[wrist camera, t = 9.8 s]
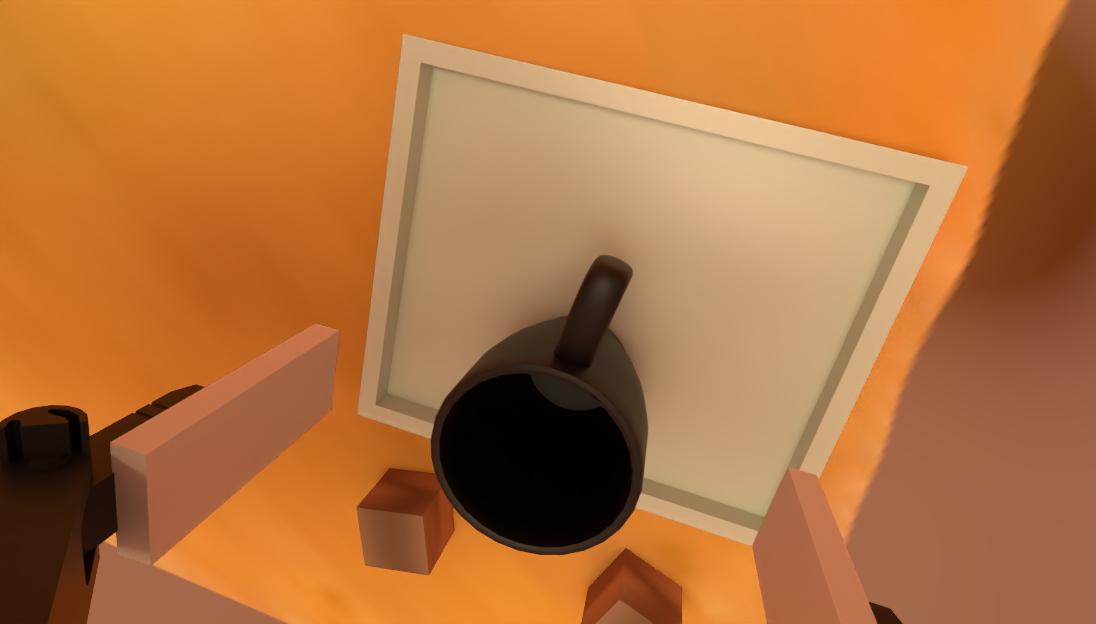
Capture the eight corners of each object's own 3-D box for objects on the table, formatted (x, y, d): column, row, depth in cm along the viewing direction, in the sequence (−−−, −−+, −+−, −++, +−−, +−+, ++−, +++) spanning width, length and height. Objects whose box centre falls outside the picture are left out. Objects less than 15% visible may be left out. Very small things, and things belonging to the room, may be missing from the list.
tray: (374, 398, 34) (357, 414, 32) (422, 39, 27) (403, 33, 25) (775, 530, 31) (781, 556, 29) (946, 163, 24) (968, 166, 22)
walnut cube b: (588, 586, 35) (577, 641, 31) (626, 547, 34) (619, 599, 30) (641, 623, 35) (637, 682, 31) (681, 586, 34) (682, 643, 30)
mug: (718, 263, 27) (736, 331, 18) (616, 458, 31) (590, 590, 22) (559, 194, 27) (501, 227, 19) (481, 395, 32) (404, 499, 23)
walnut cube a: (397, 520, 37) (365, 565, 33) (390, 467, 36) (356, 507, 32) (455, 528, 36) (428, 575, 32) (450, 474, 35) (422, 516, 31)
